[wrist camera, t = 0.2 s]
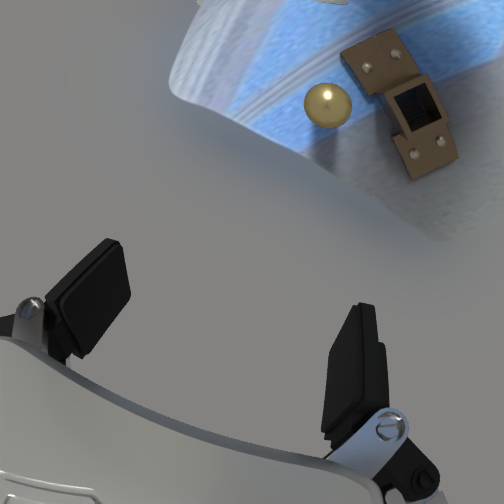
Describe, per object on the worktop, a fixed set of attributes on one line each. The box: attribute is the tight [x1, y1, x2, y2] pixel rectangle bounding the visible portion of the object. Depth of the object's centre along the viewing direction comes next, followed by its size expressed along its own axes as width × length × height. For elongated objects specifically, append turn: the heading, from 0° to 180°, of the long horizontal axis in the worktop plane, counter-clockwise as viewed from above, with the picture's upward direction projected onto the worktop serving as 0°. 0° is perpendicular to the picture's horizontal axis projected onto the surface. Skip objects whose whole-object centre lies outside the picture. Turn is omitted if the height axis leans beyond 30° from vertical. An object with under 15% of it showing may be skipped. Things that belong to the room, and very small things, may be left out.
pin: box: [304, 83, 352, 128], centre depth 26 cm, size 4×4×13 cm
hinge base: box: [340, 28, 459, 180], centre depth 26 cm, size 8×19×6 cm, turn 36°
